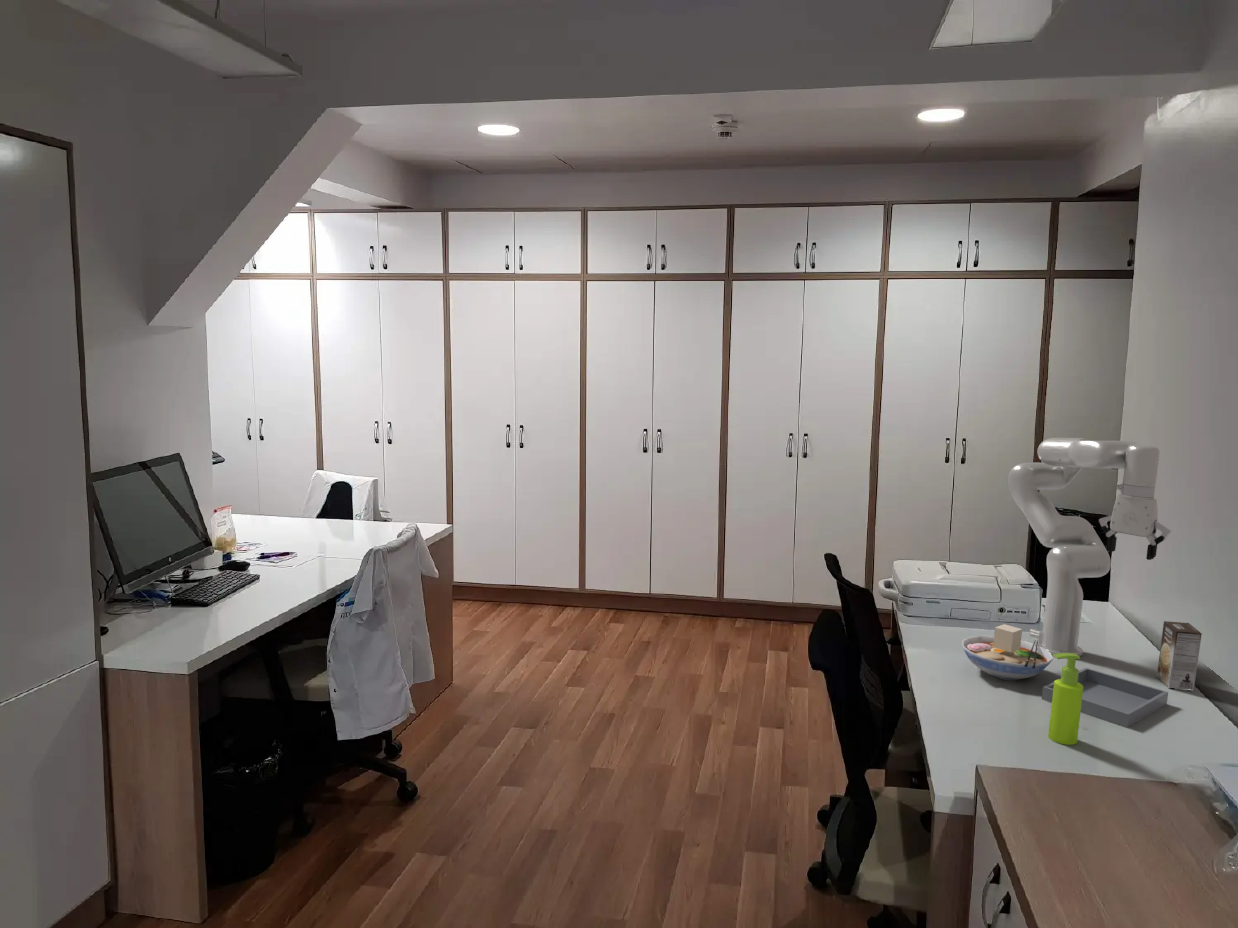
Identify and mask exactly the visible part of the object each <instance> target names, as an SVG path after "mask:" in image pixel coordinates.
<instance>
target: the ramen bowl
mask: <svg viewBox="0 0 1238 928" xmlns="http://www.w3.org/2000/svg"><path fill="white" fill-rule="evenodd" d="M993 642H994V635H975V636H968V637H966V638H965V639H962V640H961V644H962V648H963V650H964V653H965V655H966V656H967V658H968V660H970V662H971V663H972V664H973V665H975V667H977V668H978V669H979V670H981V671H983V672H985V673H986V674H989V675H991V676H992V677H994V678H996V679H1000V680H1005V681H1015V680H1020V679H1021V680H1022V679H1028V678H1033V677H1035V676H1037V675H1038V674H1040V673H1041V672H1043V670H1045V669H1046V668H1047V667H1048V666H1049V665H1050V664H1051V662H1052V661H1053V660H1054V656H1053V655H1052V654H1051V653H1050V652H1049V651H1047V650H1046V649H1044V648H1043V647H1040V646H1038V645H1036V642H1037V644H1038V639H1037V641H1036V639H1035V640H1034V641H1033V643H1032V642H1030V641H1026V640H1022V639H1021V646H1020V649H1019V650H1016V651H1014V652H1008V651H1004V650H1001V649H998V648H994V647H993Z"/></svg>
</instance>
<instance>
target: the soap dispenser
mask: <svg viewBox="0 0 1238 928" xmlns="http://www.w3.org/2000/svg"><path fill="white" fill-rule="evenodd" d="M1052 656H1053V658H1056V659H1057V660H1065V659H1066V665H1065V666H1062V667H1061V676H1060V678H1057V679H1055V680H1054V681H1053V682H1054V688H1053V697H1052V702H1051V707H1050V708H1051V709H1050V718H1049V725H1048V726H1049V727H1048V735H1047V737H1048V739H1050V740H1051V741H1053V742H1055V743H1056V744H1057V743H1058V744H1061V745H1068V746H1071V745H1073V746H1074V745H1076V744H1077V743H1078V736H1079V729H1080V718H1081V703H1082V695H1083V685H1082V684H1080V683H1078V674H1079V669H1078V668H1076V661H1077V660H1081V656H1078V655H1077V654H1073V653H1058V654H1054V655H1052Z"/></svg>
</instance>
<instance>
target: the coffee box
mask: <svg viewBox="0 0 1238 928" xmlns="http://www.w3.org/2000/svg"><path fill="white" fill-rule="evenodd" d="M1202 635H1203V634H1202V633H1201V631H1199V630H1198V629H1197V628H1196V627H1194V625H1192V624H1190V623H1189V622H1181V621H1167V620H1166V621H1165V620H1164V621H1163V627H1162V634H1161V640H1160V649H1159V656H1158V664H1157V670H1156V671H1157V673H1156V677H1157V678H1158V679H1159V680H1160V681H1161V682H1162V683H1163V684H1164V685H1165V686H1166V687H1167V686H1168V687H1167V688H1168V689H1169V688H1175V689H1174V690H1177V689H1191V690H1195V685H1196V684H1195V683H1196V677H1197V671H1198V662H1199V654H1200V650H1201V649H1200V648H1201V642H1202V641H1201V640H1202Z"/></svg>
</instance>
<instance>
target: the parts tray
mask: <svg viewBox="0 0 1238 928" xmlns="http://www.w3.org/2000/svg"><path fill="white" fill-rule="evenodd" d="M1078 670H1079V669H1078ZM1078 683H1080V684H1082V685H1083V695H1082V703H1081V712H1080V714H1085V715H1088V716H1091V717H1094V718H1096V719H1100V720H1103V721H1106V722H1108V723H1111V724H1114V725H1117V726H1121V727H1123V728H1126V729H1127V728H1129V727H1130V726H1132V725H1135V724H1136V723H1137V722H1139V721H1141V720H1142V719H1144V718H1146V717H1148V716H1149V715H1151V714H1153V713H1155V712H1157V711H1158V710H1160V709H1161V708H1163V707H1165V706H1167V705H1168V698H1169V691H1167V690H1163V689H1159V688H1156V687H1152V686H1149V685H1145V684H1142V683H1141V682H1140V683H1139V682H1135V681H1132V680H1129V679H1125V678H1123V677H1119V676H1116V675H1112V674H1109V673H1106V672H1102V671H1099V670H1095V669H1092V668H1090V667H1085V668H1081V669H1080V670H1079V674H1078ZM1053 688H1054V681H1052V682H1051V683H1048V684H1046V685H1043V686H1042V690H1041V693H1042V694H1041V700H1042V701H1043V700H1044V701H1047V702H1049V703H1052V697H1053Z"/></svg>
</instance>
